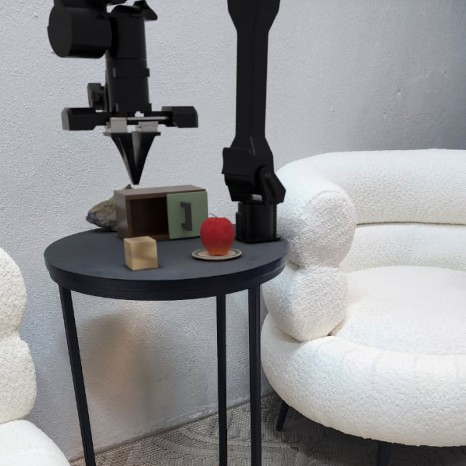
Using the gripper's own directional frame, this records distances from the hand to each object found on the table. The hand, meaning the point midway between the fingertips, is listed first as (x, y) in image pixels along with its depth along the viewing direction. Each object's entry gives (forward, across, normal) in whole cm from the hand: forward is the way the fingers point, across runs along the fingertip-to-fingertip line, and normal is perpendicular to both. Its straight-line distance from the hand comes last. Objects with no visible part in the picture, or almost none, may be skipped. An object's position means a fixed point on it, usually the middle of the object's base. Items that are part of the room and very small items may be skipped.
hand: (135, 184), depth 102 cm
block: (+12, 0, +1) cm, 12 cm away
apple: (+11, -13, 0) cm, 17 cm away
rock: (+11, -4, -34) cm, 36 cm away
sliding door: (+11, -14, -15) cm, 23 cm away
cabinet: (+11, -10, -22) cm, 26 cm away
